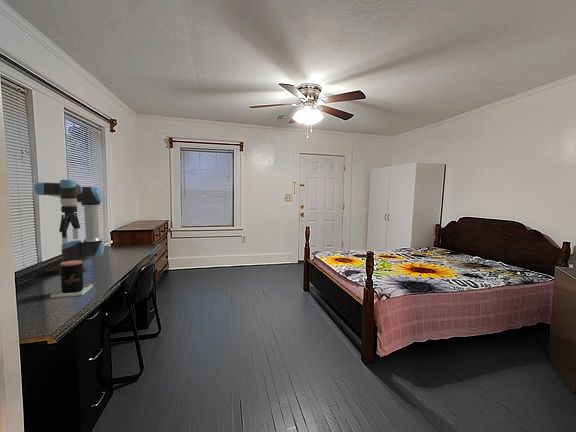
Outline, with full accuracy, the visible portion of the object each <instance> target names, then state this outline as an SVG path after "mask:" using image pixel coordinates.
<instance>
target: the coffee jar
mask: <svg viewBox="0 0 576 432" xmlns="http://www.w3.org/2000/svg"><path fill="white" fill-rule="evenodd" d="M81 260H82V259H81ZM81 260H72V261H66V262H60V268H59V270H60V269H61V274H60V287H61V291H62V293H78V292H80V291H82V290H83V288H84V286H83V285H84V271H83V265H84V264H83V265H82V263H83V260H82V261H81Z"/></svg>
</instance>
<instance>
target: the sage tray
mask: <svg viewBox="0 0 576 432" xmlns="http://www.w3.org/2000/svg"><path fill="white" fill-rule="evenodd" d="M93 285H94V284H83V286H84V288H83V290H82V291H80V292H78V293H62V291H61V288H59V289H56V291H54V292H53V293H51V294H50V299H52V298H54V299H55V298H69V297H82V296H83V295H85V294H86V293H88V292H89V291H90V290H91V289H93V287H94V286H93Z"/></svg>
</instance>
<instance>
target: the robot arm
mask: <svg viewBox="0 0 576 432" xmlns="http://www.w3.org/2000/svg"><path fill="white" fill-rule="evenodd" d="M76 181H77V180H74V179H61V180H60V182H35V185H34V192H35V194H36V195H37V196H38V195H39V196H50V197H55V198H59V199H60V200H59V201H60V205H61V207H60V209H61V210H60V211H61V213H64V214H61V220H60V224H59V233H61V243H62V244H61V261H62V262H66V261H72V260H81V261H82V265H83V272H84V271H85V269H86V267H85V265H84V263H83V260H82V258H94V257H95V258H97V257H101V256H103V254H104V251H105V247H106V244H105V241H103V239H102V238H101V237H100V225H99V223H100V222H99V209H98V208H99V206H100V205H101V203H102V202H103V194H102V191H101V189H100V187H97V186H81V184H78V183H77V182H76ZM78 203H81V204H80V205H81V206H82V207H83V212H84V213H83V214H84V230H85V232H84V233H85V238H84V239H83V242H82V240H79V239H80V237H79V236H80V235H79V229H81V225H80V221H79V218H78V206H77V205H78ZM70 224H71V225H72V240H71V241H69V231H68V229H69V226H70ZM62 262H61V263H62ZM59 274H60V275H61V269H60V268H59Z"/></svg>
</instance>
